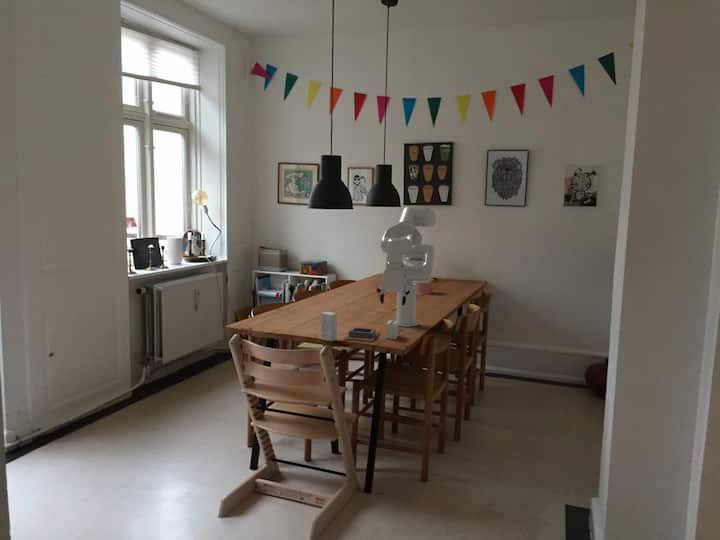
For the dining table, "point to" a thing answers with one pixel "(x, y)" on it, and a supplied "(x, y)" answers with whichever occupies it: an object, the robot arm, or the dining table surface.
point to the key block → (392, 329)
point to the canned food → (424, 287)
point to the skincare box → (329, 326)
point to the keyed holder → (362, 334)
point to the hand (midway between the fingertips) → (392, 304)
